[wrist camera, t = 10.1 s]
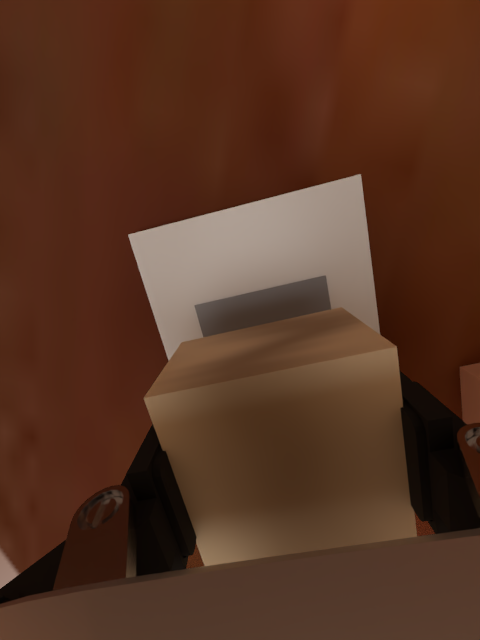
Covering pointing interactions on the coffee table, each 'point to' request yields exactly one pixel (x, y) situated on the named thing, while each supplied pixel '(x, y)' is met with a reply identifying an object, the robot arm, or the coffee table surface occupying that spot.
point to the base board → (260, 263)
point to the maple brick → (286, 437)
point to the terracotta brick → (470, 393)
